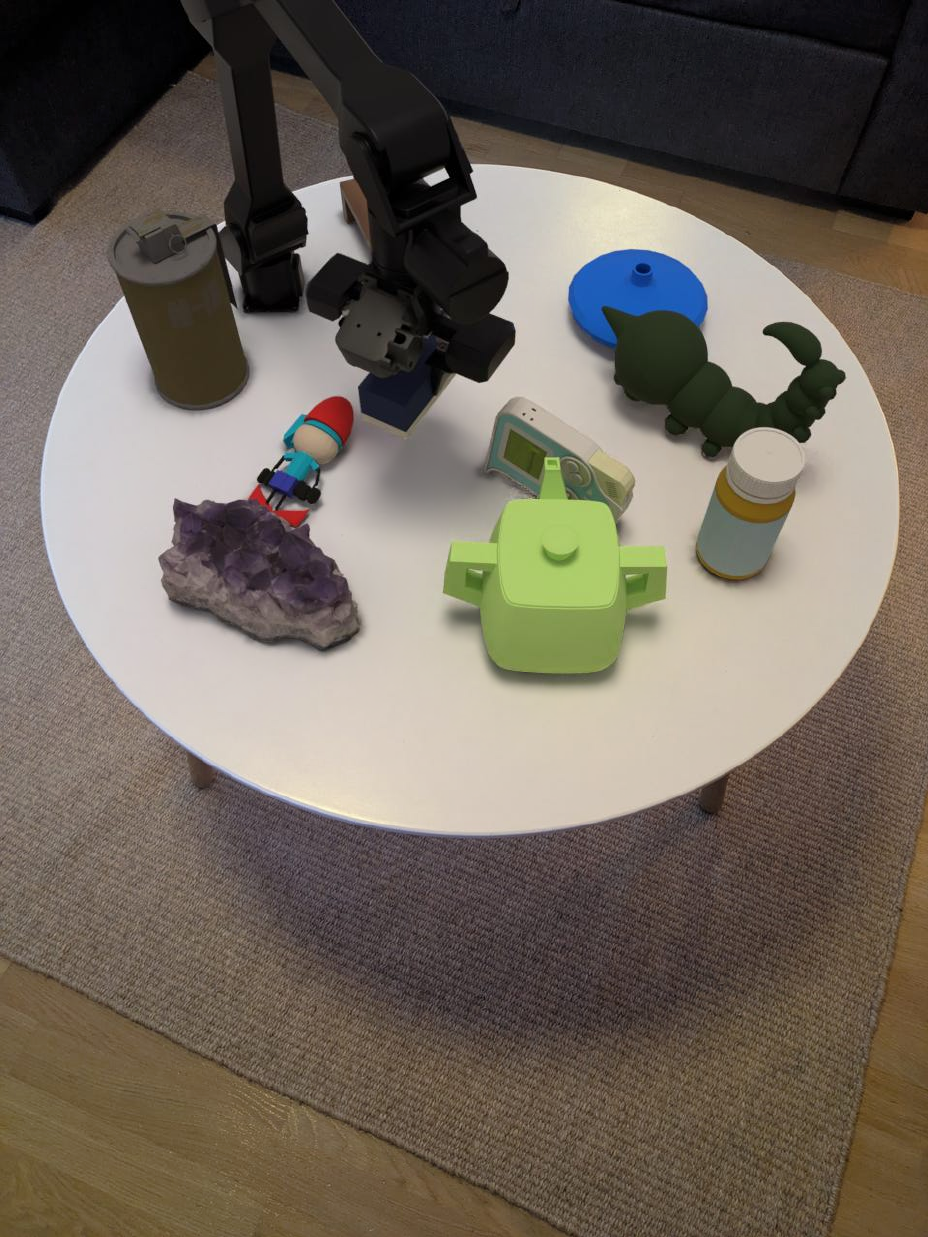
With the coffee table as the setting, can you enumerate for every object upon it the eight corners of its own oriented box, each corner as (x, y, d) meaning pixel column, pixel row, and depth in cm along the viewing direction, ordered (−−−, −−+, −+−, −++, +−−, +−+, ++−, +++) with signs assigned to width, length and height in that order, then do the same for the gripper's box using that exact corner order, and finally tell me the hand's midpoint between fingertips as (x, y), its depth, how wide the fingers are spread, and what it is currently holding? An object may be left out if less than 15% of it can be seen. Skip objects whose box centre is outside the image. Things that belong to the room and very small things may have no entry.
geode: (391, 577, 98) (380, 529, 88) (336, 680, 94) (319, 641, 84) (211, 503, 101) (183, 449, 92) (151, 599, 97) (115, 553, 88)
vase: (709, 282, 119) (722, 232, 112) (694, 378, 111) (707, 329, 105) (578, 262, 120) (584, 211, 114) (554, 355, 113) (559, 306, 107)
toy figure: (307, 538, 102) (380, 423, 106) (292, 514, 97) (368, 395, 102) (247, 513, 104) (321, 402, 109) (230, 488, 100) (307, 373, 104)
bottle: (771, 535, 100) (816, 434, 87) (759, 591, 96) (803, 495, 84) (703, 516, 101) (737, 414, 88) (687, 571, 98) (720, 474, 85)
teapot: (449, 519, 101) (446, 432, 90) (648, 523, 101) (670, 437, 89) (441, 681, 92) (437, 607, 80) (660, 687, 91) (687, 613, 80)
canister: (187, 425, 108) (134, 274, 90) (137, 371, 112) (77, 217, 94) (271, 377, 111) (235, 223, 94) (219, 326, 115) (176, 170, 98)
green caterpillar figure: (802, 457, 107) (612, 337, 113) (879, 331, 90) (651, 198, 96) (757, 513, 103) (563, 386, 109) (828, 392, 87) (594, 250, 93)
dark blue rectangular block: (406, 439, 94) (404, 407, 90) (361, 419, 96) (357, 386, 92) (463, 364, 99) (464, 330, 95) (420, 346, 100) (418, 311, 96)
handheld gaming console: (602, 552, 101) (481, 473, 104) (616, 533, 103) (496, 455, 105) (630, 491, 91) (496, 405, 94) (646, 471, 93) (513, 387, 95)
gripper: (256, 269, 81) (285, 401, 95) (456, 352, 77) (456, 478, 91) (331, 191, 86) (348, 327, 100) (523, 265, 82) (513, 397, 95)
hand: (413, 382), depth 96 cm, fingers closed on dark blue rectangular block, 5 cm apart
